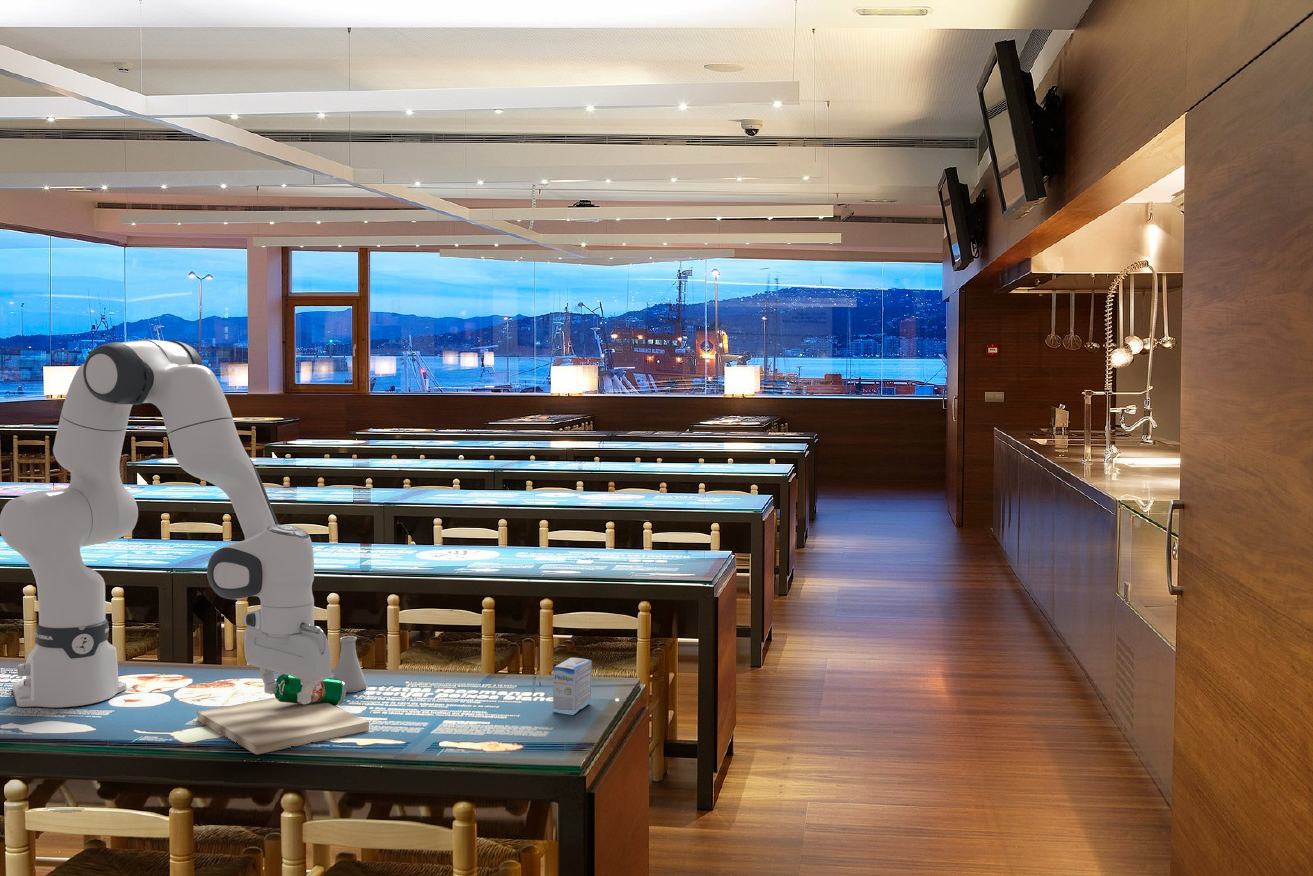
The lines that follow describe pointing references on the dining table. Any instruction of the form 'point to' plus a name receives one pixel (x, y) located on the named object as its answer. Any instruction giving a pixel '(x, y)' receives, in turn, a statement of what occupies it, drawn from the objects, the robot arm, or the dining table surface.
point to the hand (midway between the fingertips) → (287, 698)
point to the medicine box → (572, 683)
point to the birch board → (280, 723)
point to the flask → (350, 666)
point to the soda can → (322, 692)
